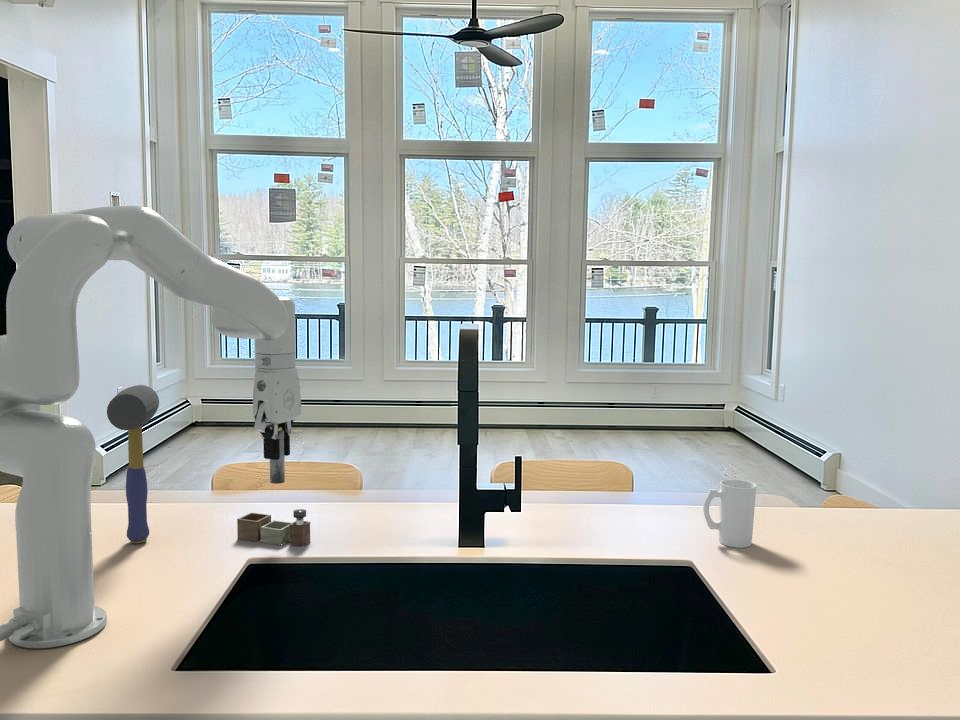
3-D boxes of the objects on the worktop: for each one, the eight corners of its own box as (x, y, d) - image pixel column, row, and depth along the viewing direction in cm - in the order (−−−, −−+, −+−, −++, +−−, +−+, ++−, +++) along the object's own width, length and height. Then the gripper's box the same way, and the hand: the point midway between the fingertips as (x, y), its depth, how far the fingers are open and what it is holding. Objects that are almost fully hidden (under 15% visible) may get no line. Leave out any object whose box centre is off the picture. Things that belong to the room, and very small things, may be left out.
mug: (745, 537, 161) (748, 479, 160) (758, 548, 155) (761, 488, 153) (696, 537, 161) (699, 479, 160) (707, 548, 154) (710, 488, 153)
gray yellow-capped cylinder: (279, 484, 152) (278, 429, 151) (267, 482, 153) (266, 428, 152) (287, 480, 155) (286, 427, 153) (275, 479, 155) (274, 425, 154)
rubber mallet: (151, 552, 147) (147, 392, 144) (108, 554, 146) (102, 392, 142) (165, 530, 159) (161, 382, 156) (125, 532, 158) (120, 382, 155)
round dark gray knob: (302, 544, 152) (302, 513, 151) (291, 542, 153) (291, 512, 152) (308, 540, 154) (308, 510, 153) (297, 538, 155) (297, 508, 154)
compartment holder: (300, 548, 151) (300, 527, 150) (237, 539, 155) (237, 519, 155) (312, 540, 155) (312, 520, 155) (251, 531, 159) (251, 512, 159)
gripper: (268, 368, 142) (270, 468, 144) (314, 358, 158) (315, 449, 160) (232, 365, 145) (234, 464, 147) (281, 356, 160) (283, 446, 162)
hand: (277, 456), depth 153 cm, fingers closed on gray yellow-capped cylinder, 2 cm apart
